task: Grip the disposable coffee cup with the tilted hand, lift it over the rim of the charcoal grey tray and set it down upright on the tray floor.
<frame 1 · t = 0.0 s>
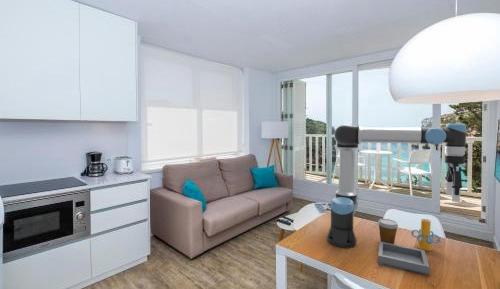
hand: (452, 198, 119), 28 cm above the table, tool pointing down, fingers open, 13 cm apart
disposable coffee cup: (387, 243, 132), on the table
grey tray: (401, 261, 114), on the table
yellow post with rings: (424, 248, 126), on the table
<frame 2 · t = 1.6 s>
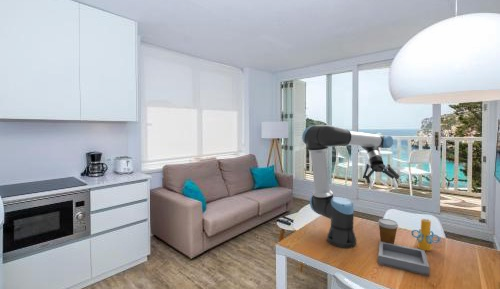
hand: (384, 188, 141), 28 cm above the table, tool tilted 45°, fingers open, 13 cm apart
nothing on the table moved.
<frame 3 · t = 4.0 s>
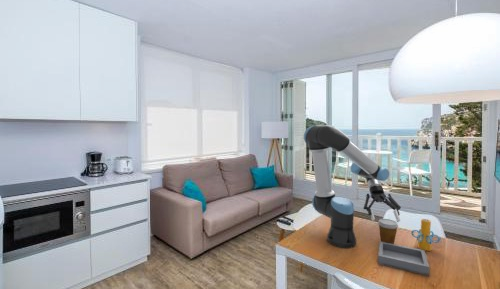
hand: (386, 220, 137), 10 cm above the table, tool tilted 45°, fingers open, 13 cm apart
nothing on the table moved.
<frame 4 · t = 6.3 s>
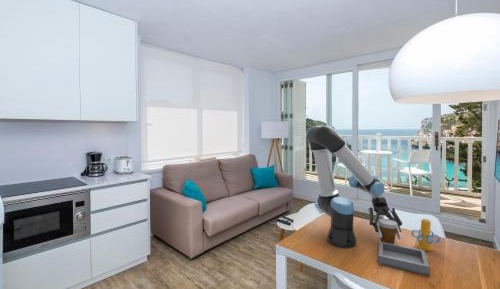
hand: (390, 238, 128), 4 cm above the table, tool tilted 45°, fingers closed on disposable coffee cup, 9 cm apart
disposable coffee cup: (387, 243, 132), on the table, touching gripper
everything else where it was.
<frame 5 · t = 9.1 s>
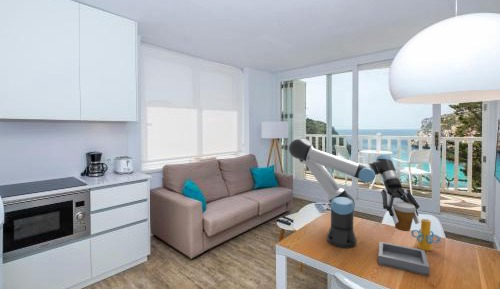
hand: (407, 222, 115), 18 cm above the table, tool tilted 40°, fingers closed on disposable coffee cup, 9 cm apart
disposable coffee cup: (402, 228, 118), point 13 cm above the table, touching gripper
everything else where it was.
when the fingers open (7 cm above the table, at t = 12.2 s): disposable coffee cup drops 1 cm, resting on grey tray.
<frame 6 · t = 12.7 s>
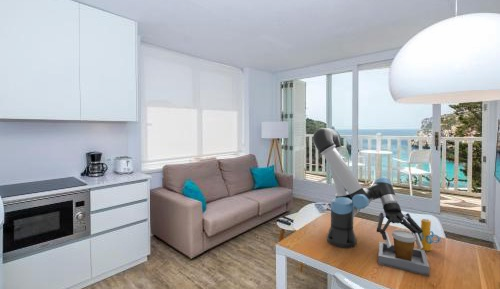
hand: (405, 247, 111), 8 cm above the table, tool tilted 45°, fingers open, 13 cm apart
disposable coffee cup: (403, 259, 114), point 1 cm above the table, touching grey tray
everything else where it was.
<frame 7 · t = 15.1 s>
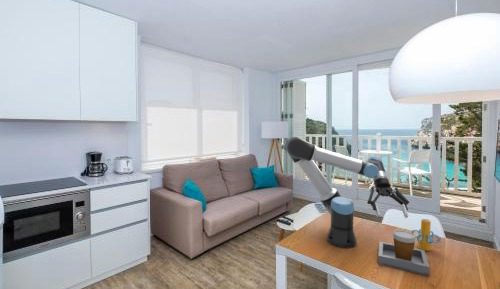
hand: (392, 216, 123), 18 cm above the table, tool tilted 45°, fingers open, 13 cm apart
nothing on the table moved.
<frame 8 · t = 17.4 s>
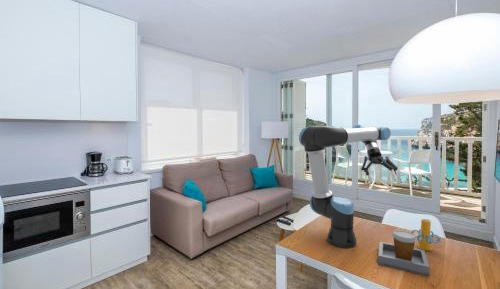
hand: (383, 179, 140), 33 cm above the table, tool tilted 45°, fingers open, 13 cm apart
nothing on the table moved.
at the end: disposable coffee cup inside the target area on the grey tray (0.8 cm from its centre), point 0.8 cm above the grey tray's base; disposable coffee cup tilted 0°; the gripper is holding nothing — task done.
